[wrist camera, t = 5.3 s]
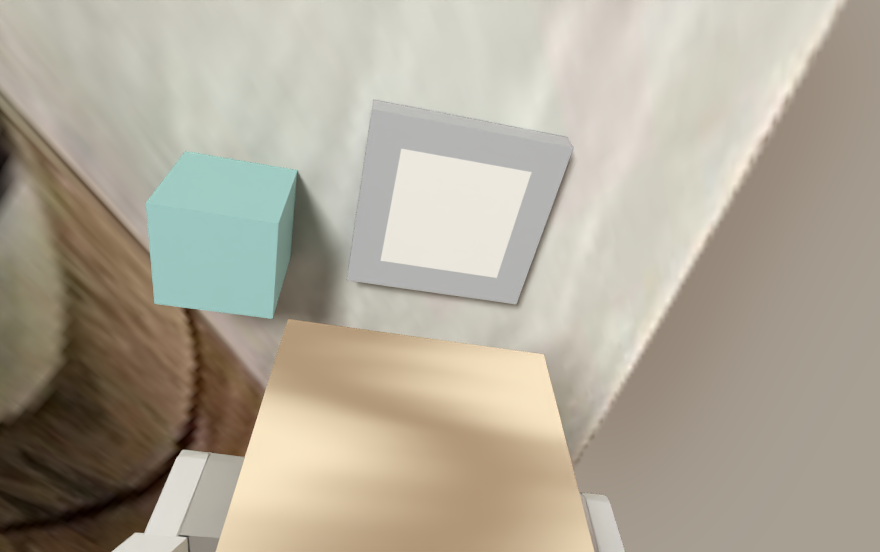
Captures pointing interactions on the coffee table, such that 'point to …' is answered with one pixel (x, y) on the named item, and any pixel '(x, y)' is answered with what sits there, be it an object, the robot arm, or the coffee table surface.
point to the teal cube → (221, 235)
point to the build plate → (453, 203)
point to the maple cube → (404, 450)
